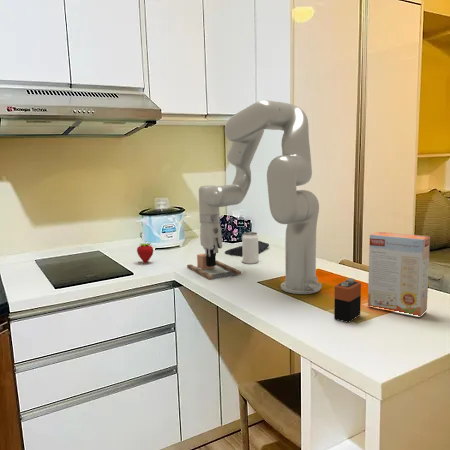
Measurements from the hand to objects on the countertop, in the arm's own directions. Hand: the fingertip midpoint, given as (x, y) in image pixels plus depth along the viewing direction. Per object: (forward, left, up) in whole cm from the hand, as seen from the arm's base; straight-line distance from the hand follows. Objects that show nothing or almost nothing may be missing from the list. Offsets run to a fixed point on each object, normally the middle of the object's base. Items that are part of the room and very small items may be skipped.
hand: (211, 265), depth 160 cm
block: (+5, 0, -2) cm, 5 cm away
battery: (-63, -9, -2) cm, 63 cm away
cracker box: (-66, -24, -2) cm, 70 cm away
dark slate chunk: (+21, -29, -2) cm, 36 cm away
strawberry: (+25, +18, -2) cm, 31 cm away
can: (+2, -19, -2) cm, 19 cm away
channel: (-2, 0, -2) cm, 2 cm away
